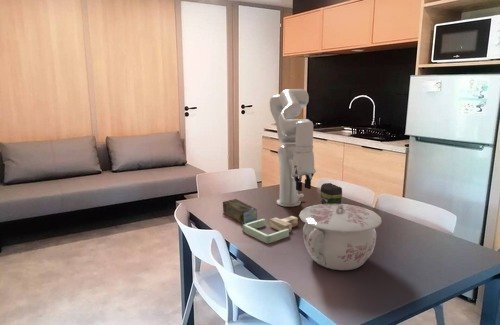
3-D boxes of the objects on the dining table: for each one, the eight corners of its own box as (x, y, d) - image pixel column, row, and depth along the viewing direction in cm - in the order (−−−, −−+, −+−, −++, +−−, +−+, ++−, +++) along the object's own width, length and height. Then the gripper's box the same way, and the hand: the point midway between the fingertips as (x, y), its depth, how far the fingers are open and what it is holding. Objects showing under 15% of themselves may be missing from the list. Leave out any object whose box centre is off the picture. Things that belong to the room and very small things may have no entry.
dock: (263, 225, 162) (263, 218, 161) (288, 236, 149) (289, 229, 148) (242, 231, 155) (242, 224, 154) (267, 243, 142) (267, 236, 141)
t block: (287, 221, 166) (287, 213, 165) (303, 227, 158) (303, 219, 158) (269, 226, 160) (269, 219, 159) (285, 233, 152) (285, 225, 151)
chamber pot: (357, 242, 143) (360, 191, 138) (394, 277, 116) (399, 215, 112) (288, 247, 139) (288, 195, 135) (310, 284, 112) (311, 221, 108)
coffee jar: (344, 227, 158) (345, 186, 154) (328, 230, 155) (329, 188, 151) (332, 220, 167) (333, 181, 163) (316, 222, 164) (317, 182, 160)
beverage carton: (243, 225, 163) (243, 211, 161) (222, 213, 178) (221, 200, 177) (257, 221, 167) (257, 207, 166) (236, 210, 183) (235, 197, 181)
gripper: (311, 146, 167) (310, 184, 170) (283, 150, 156) (283, 191, 160) (323, 148, 161) (322, 187, 164) (296, 152, 151) (295, 194, 154)
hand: (303, 189), depth 162 cm, fingers open, 4 cm apart
